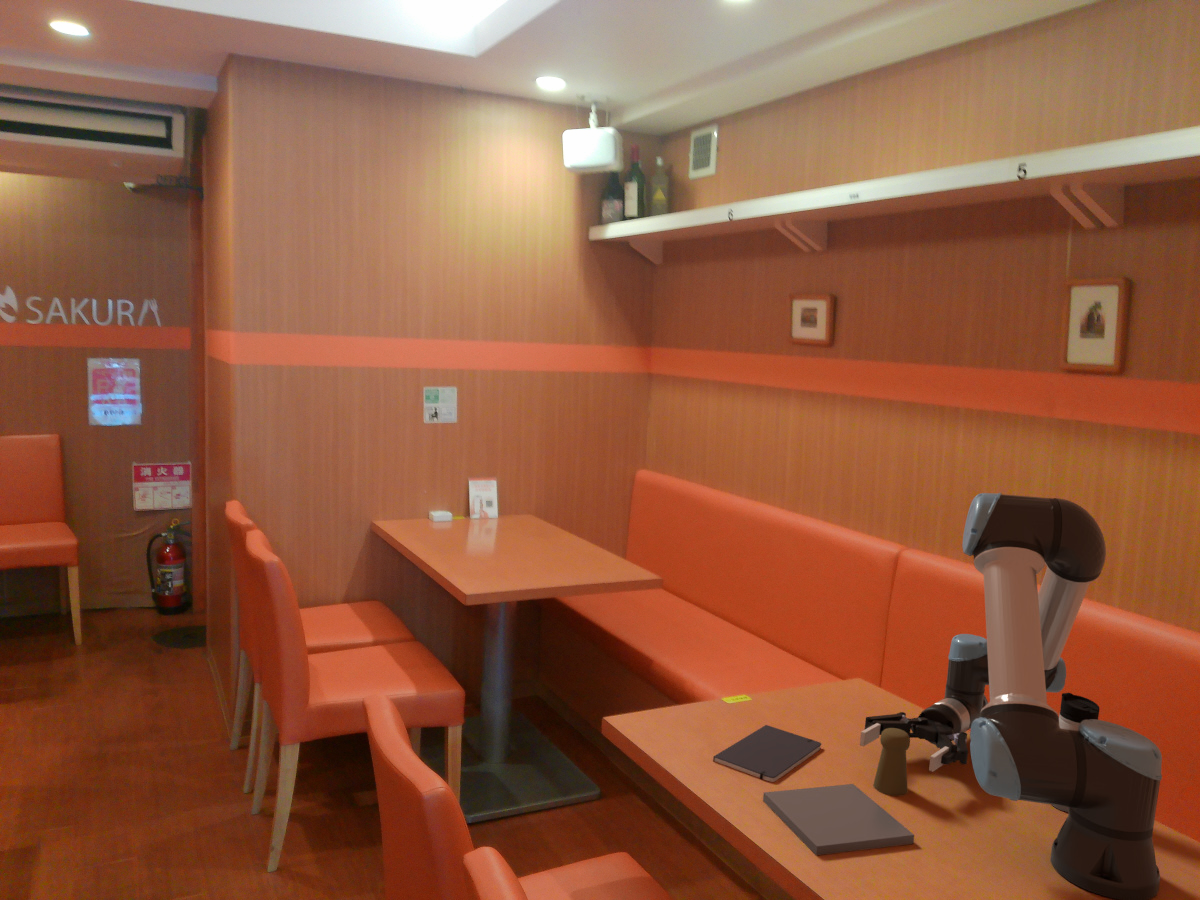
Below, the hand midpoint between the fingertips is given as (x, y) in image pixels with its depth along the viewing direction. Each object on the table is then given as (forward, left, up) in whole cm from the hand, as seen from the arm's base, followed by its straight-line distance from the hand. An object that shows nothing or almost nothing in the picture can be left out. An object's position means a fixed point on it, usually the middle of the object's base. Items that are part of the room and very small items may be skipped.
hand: (895, 751), depth 175 cm
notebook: (+16, +17, -7) cm, 24 cm away
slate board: (-10, +18, -6) cm, 22 cm away
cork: (-1, +1, -7) cm, 7 cm away
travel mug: (-13, -28, -7) cm, 31 cm away
